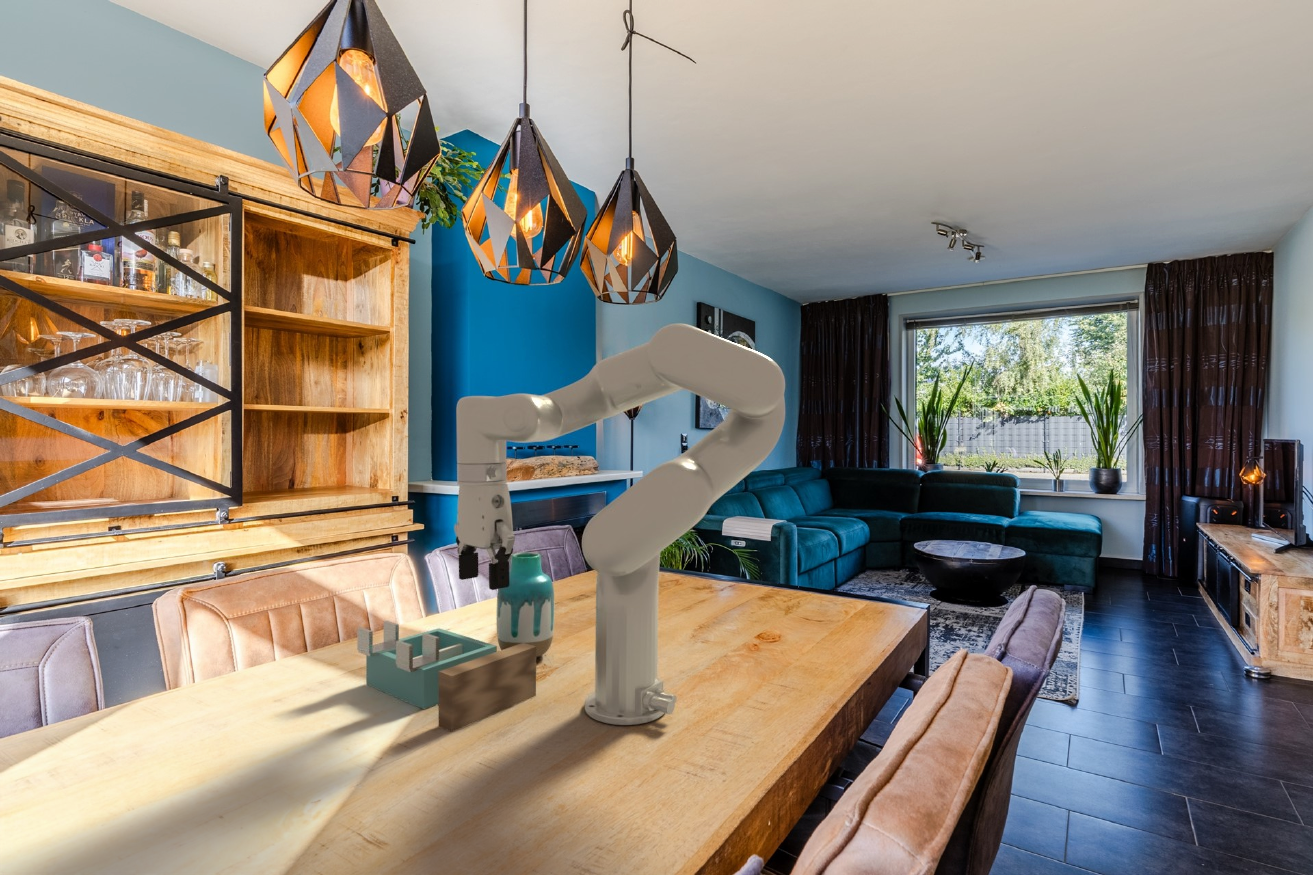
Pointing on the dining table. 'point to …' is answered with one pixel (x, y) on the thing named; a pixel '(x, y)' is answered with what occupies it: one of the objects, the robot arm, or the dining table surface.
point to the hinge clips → (399, 647)
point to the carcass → (425, 681)
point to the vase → (526, 605)
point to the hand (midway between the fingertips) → (483, 582)
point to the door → (486, 686)
